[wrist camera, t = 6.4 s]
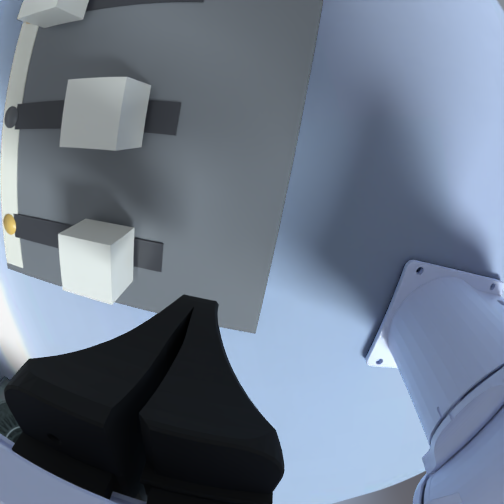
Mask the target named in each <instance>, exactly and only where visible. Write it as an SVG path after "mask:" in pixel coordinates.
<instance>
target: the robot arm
mask: <svg viewBox="0 0 504 504" xmlns="http://www.w3.org/2000/svg"><path fill="white" fill-rule="evenodd" d="M419 267H421V270H420V271H419V272H416V271H417V269H418V268H419ZM491 285H492V286H491ZM490 286H491V287H490ZM503 290H504V283H503V282H502V281H501V280H497V279H493V278H489V277H485V276H481V275H477V274H473V273H469V272H465V271H460V270H456V269H452V268H448V267H443V266H439V265H435V264H431V263H426V262H422V261H417V260H409V261H408V262H407V263H406V264H405V266H404V269H403V272H402V274H401V277H400V280H399V282H398V285H397V288H396V290H395V293H394V295H393V298H392V300H391V303H390V305H389V307H388V310H387V312H386V315H385V317H384V319H383V322H382V324H381V326H380V328H379V331H378V333H377V335H376V337H375V339H374V342H373V344H372V346H371V348H370V350H369V352H368V354H367V356H366V359H365V360H366V363H367V365H368V366H376V367H391V368H398V369H399V372H400V374H401V376H402V378H403V381H404V383H405V385H406V388H407V390H408V392H409V395H410V397H411V399H412V402H413V404H414V407H415V409H416V412H417V414H418V417H419V419H420V422H421V424H422V427H423V429H424V432H425V435H426V437H427V440H428V443H429V445H430V449H429V451H428V452H427V453H426V454H425V455H424V456H423V457H422V460H423V463H424V466H425V469H426V472H427V474H426V475H425V476H424V477H423V478H422V479H421V481H420V482H419V484H418V485H417V488H416V490H415V493H414V497H413V504H504V299H503V298H502V297H501V295H502V292H503ZM218 307H219V304H218V303H217V301H214V300H209V299H204V298H199V297H194V296H189V295H185V294H184V295H182V296H181V297H179V298H178V299H177V300H175V301H174V302H173V303H171V304H170V305H169V306H167V307H166V308H165V309H163V310H162V311H161V312H159V313H158V314H156V315H155V316H153V317H152V318H151V319H149V320H147V321H146V322H144V323H143V324H141V325H139V326H138V327H136V328H134V329H133V330H131V331H129V332H127V333H125V334H123V335H121V336H119V337H116V338H114V339H112V340H109V341H107V342H104V343H101V344H98V345H96V346H93V347H90V348H87V349H83V350H80V351H76V352H72V353H67V354H62V355H57V356H50V357H42V358H34V359H29V360H28V361H27V362H26V363H25V364H24V365H23V366H22V367H21V368H20V370H19V371H18V372H17V373H16V374H15V376H14V377H13V378H12V379H11V380H10V382H9V383H8V384H7V385H6V387H5V389H4V396H5V400H6V403H7V405H8V407H9V409H10V411H11V413H12V414H13V416H14V418H15V420H16V421H17V423H18V425H19V426H20V428H21V430H22V433H21V434H20V436H19V437H18V439H17V441H16V442H15V443H14V442H12V441H11V440H9V439H8V438H6V437H5V436H3V435H2V434H0V504H272V496H273V491H274V489H275V488H276V486H277V485H278V483H279V482H280V480H281V479H282V477H283V474H284V460H283V454H282V449H281V446H280V442H279V439H278V435H277V432H276V430H275V429H274V428H273V427H272V426H271V425H270V423H269V422H268V421H267V420H266V419H265V418H264V417H263V416H262V414H261V413H260V412H259V411H258V409H257V408H256V407H255V406H254V404H253V403H252V402H251V400H250V399H249V397H248V396H247V394H246V392H245V391H244V389H243V388H242V386H241V384H240V383H239V381H238V379H237V377H236V375H235V373H234V371H233V369H232V367H231V365H230V363H229V360H228V358H227V355H226V352H225V349H224V346H223V343H222V339H221V335H220V330H219V325H218ZM378 359H380V360H379V361H377V360H378ZM146 501H147V502H146Z"/></svg>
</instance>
